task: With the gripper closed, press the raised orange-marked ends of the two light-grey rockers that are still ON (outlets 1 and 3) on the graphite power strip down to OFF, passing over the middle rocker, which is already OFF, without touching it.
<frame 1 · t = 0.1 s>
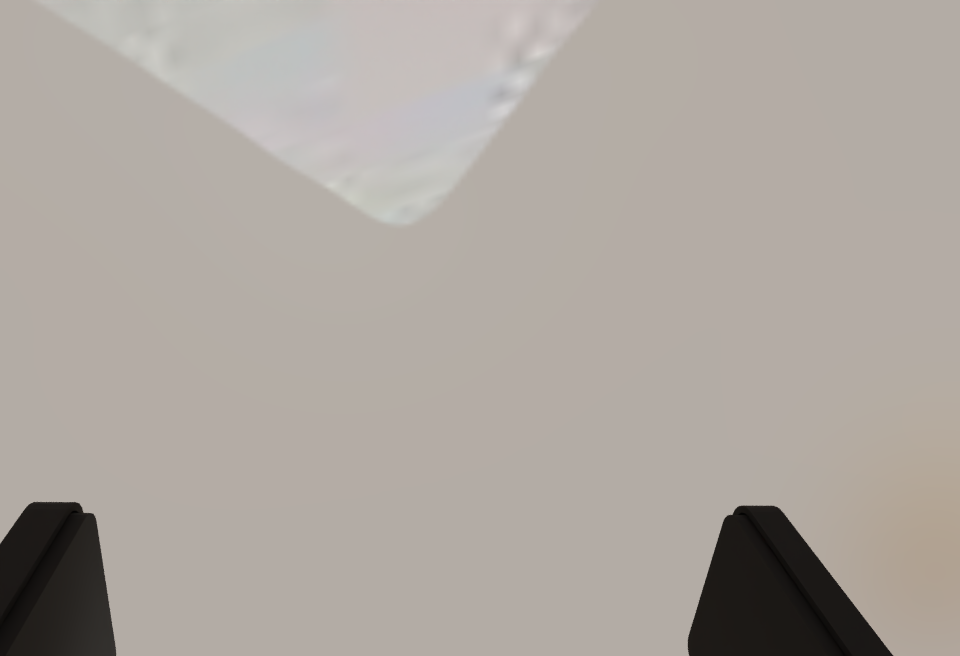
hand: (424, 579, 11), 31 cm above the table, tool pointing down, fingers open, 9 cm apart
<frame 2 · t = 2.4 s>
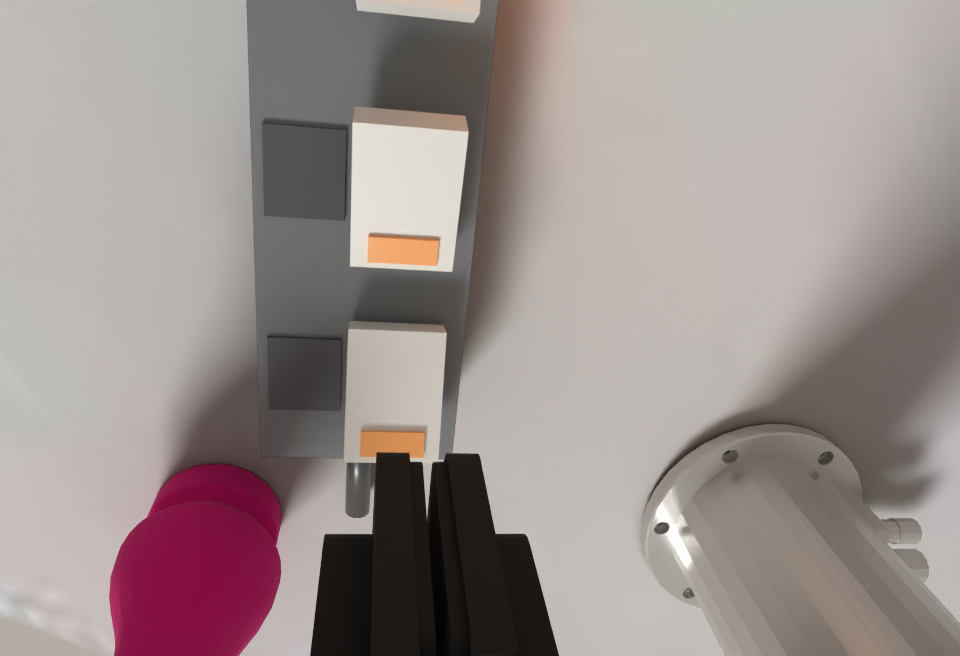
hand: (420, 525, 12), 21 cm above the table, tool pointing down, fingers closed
power strip: (371, 150, 30), on the table
rocker 2: (405, 194, 24), point 7 cm above the table, hinge at -12.0°
rocker 1: (394, 393, 27), point 7 cm above the table, hinge at 12.0°
pepper mill: (220, 509, 37), on the table
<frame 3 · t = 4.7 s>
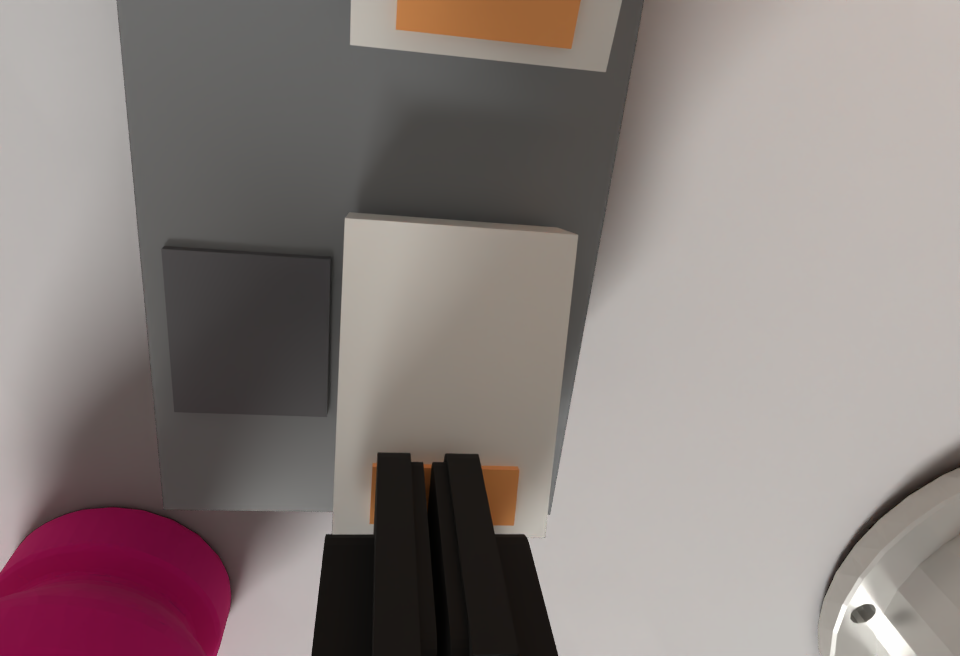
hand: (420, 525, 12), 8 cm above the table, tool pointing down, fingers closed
rocker 1: (448, 378, 12), point 7 cm above the table, hinge at 11.9°, touching gripper
pepper mill: (126, 582, 21), on the table
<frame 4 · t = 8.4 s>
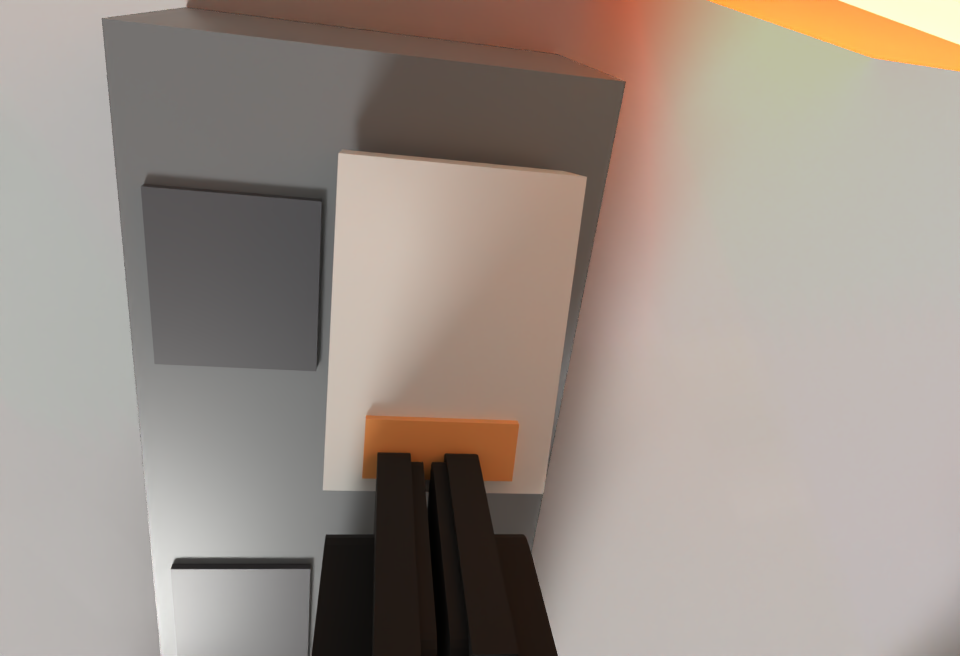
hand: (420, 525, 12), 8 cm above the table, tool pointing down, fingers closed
power strip: (352, 479, 20), on the table
rocker 3: (446, 327, 11), point 7 cm above the table, hinge at 9.7°, touching gripper
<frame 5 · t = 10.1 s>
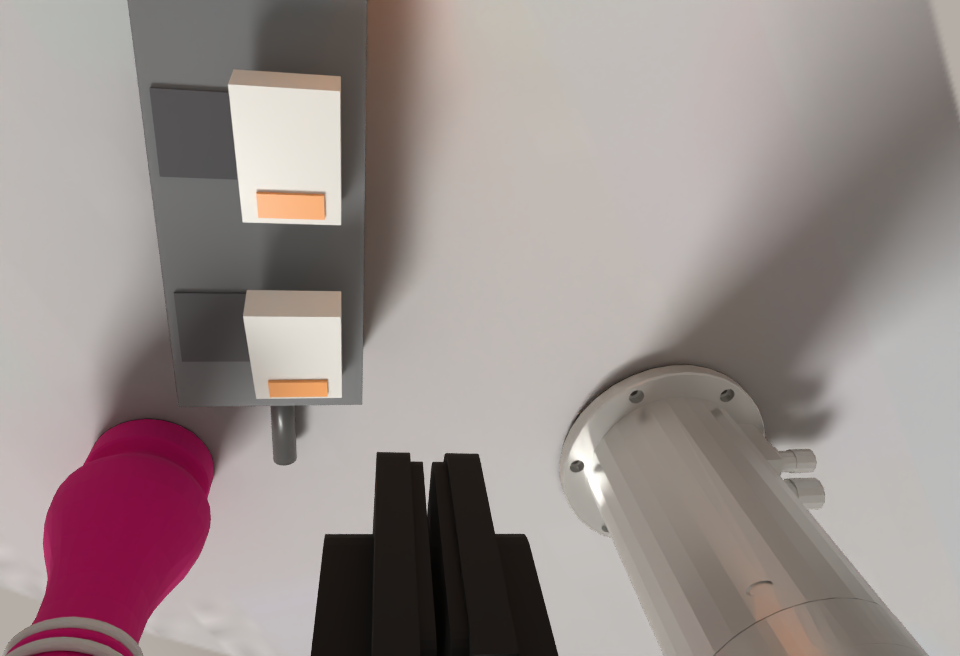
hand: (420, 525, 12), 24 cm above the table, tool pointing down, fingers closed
power strip: (271, 112, 31), on the table
rocker 2: (290, 152, 26), point 7 cm above the table, hinge at -12.0°
rocker 1: (297, 348, 29), point 7 cm above the table, hinge at -20.9°, touching power strip
pepper mill: (154, 463, 39), on the table
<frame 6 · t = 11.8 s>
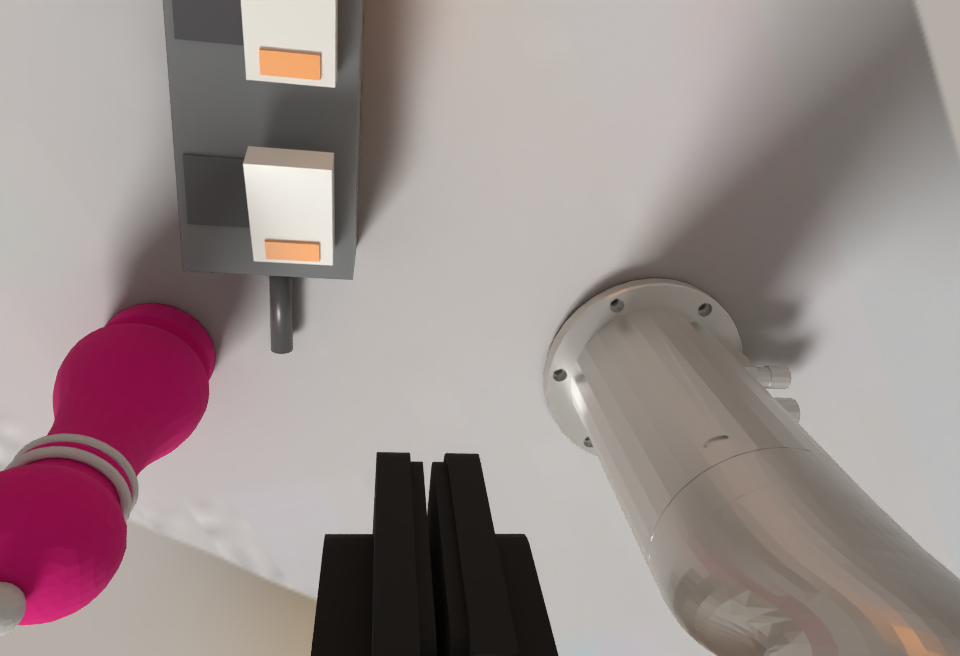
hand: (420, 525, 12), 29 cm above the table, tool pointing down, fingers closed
power strip: (279, 5, 34), on the table
rocker 2: (290, 13, 29), point 7 cm above the table, hinge at -12.0°
rocker 1: (292, 209, 32), point 7 cm above the table, hinge at -19.8°, touching power strip
pepper mill: (160, 350, 41), on the table
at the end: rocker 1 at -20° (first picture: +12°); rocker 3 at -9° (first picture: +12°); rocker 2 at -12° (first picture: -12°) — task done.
